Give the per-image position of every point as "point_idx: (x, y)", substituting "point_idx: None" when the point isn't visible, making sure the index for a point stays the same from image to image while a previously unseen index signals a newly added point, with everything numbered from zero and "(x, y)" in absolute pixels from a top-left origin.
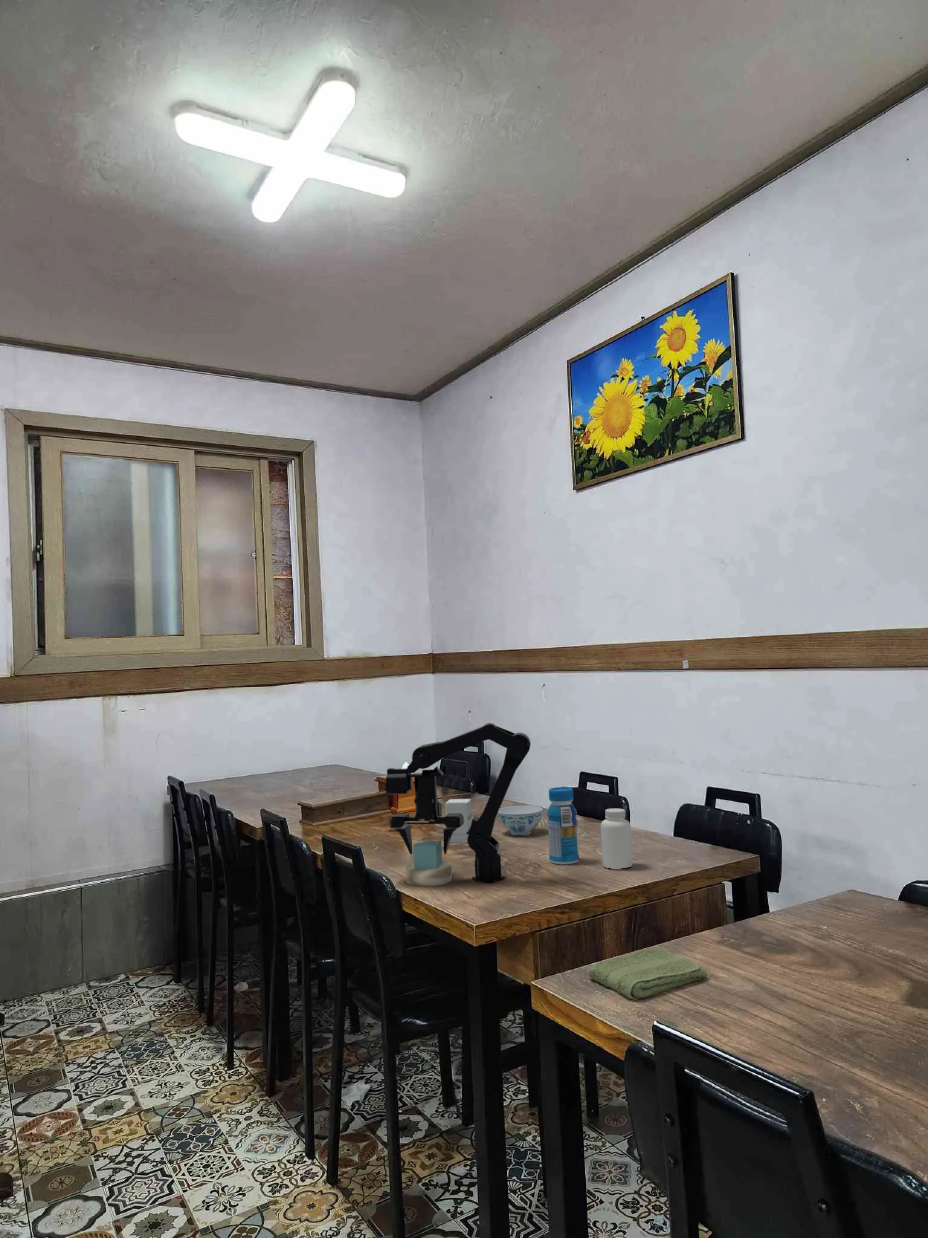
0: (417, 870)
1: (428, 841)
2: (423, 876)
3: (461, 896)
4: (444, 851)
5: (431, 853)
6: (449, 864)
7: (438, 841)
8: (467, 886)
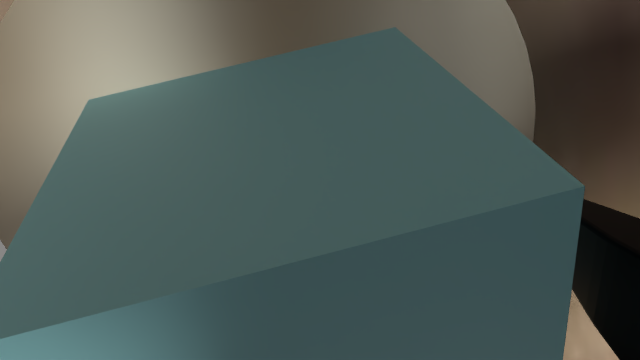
0: None
1: (287, 354)
2: None
3: (590, 340)
4: (582, 287)
5: None
6: (502, 53)
7: (535, 292)
8: (611, 179)
